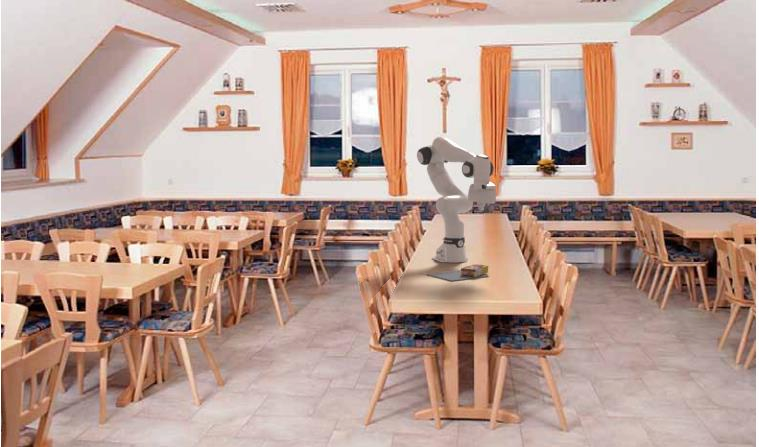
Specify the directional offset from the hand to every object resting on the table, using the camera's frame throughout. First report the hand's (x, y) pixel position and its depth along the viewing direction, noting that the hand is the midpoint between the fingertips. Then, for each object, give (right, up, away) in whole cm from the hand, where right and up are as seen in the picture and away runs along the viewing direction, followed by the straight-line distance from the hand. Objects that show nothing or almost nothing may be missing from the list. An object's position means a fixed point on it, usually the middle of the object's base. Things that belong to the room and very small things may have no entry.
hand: (481, 210), depth 422 cm
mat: (-14, -35, -13) cm, 40 cm away
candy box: (-1, -31, -5) cm, 32 cm away
